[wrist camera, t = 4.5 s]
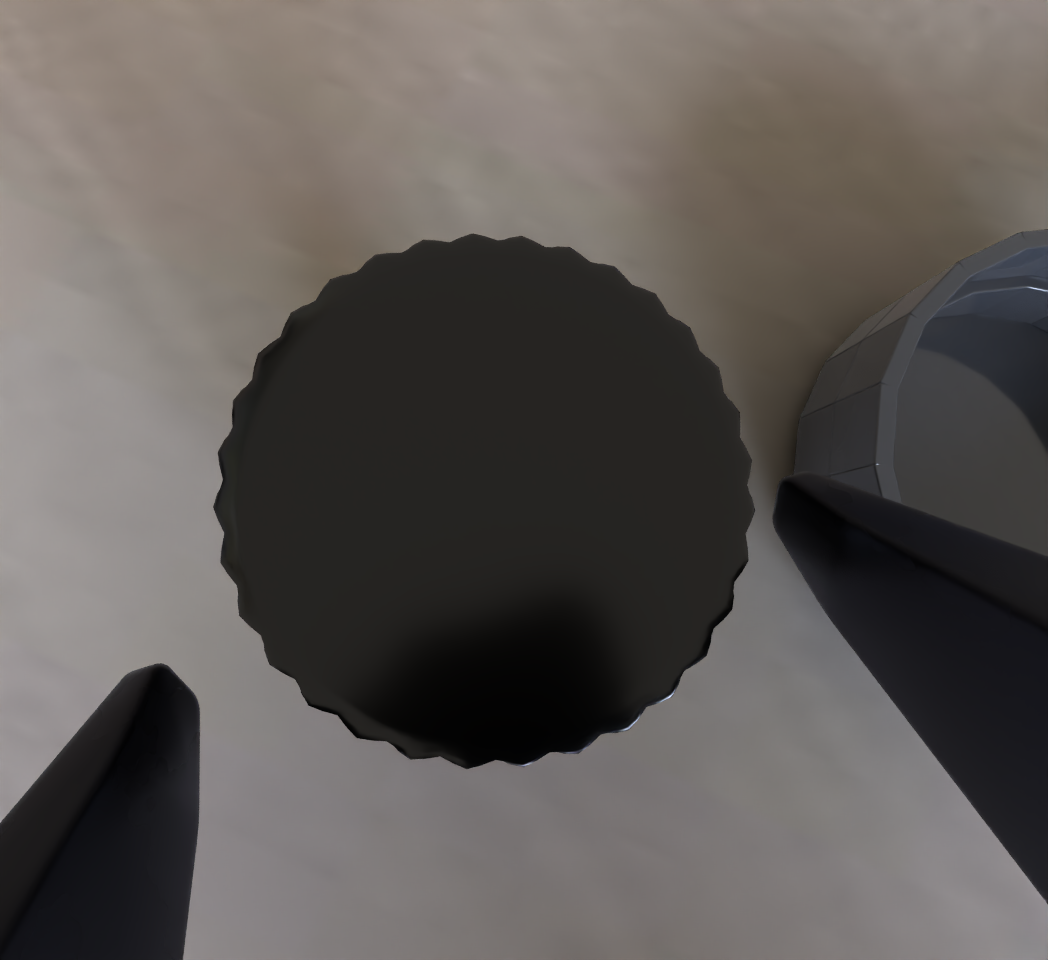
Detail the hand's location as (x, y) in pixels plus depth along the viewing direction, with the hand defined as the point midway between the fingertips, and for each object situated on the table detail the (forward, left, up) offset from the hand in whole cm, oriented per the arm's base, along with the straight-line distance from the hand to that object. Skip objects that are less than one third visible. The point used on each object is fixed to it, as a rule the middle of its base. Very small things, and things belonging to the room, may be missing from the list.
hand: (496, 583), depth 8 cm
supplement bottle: (0, +1, -9) cm, 9 cm away
